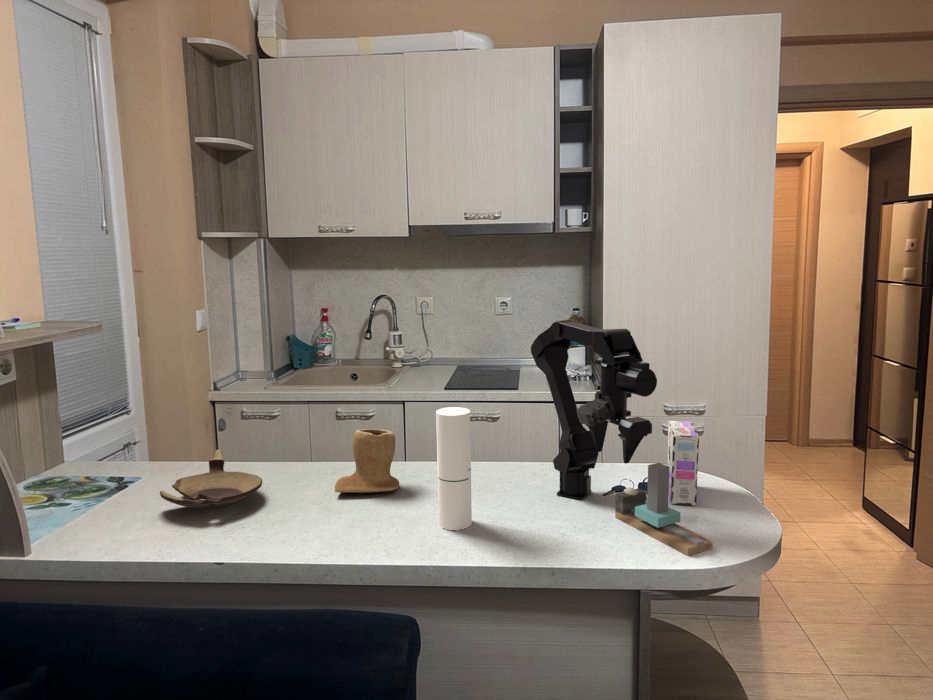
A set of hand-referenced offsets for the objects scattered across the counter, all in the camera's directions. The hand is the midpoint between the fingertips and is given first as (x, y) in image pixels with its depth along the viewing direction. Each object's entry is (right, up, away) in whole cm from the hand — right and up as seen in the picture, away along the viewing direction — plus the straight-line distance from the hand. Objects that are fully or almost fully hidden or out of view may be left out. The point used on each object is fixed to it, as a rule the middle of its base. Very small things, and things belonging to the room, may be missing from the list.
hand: (612, 457), depth 156 cm
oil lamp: (-91, -13, +15) cm, 93 cm away
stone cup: (-56, -11, +20) cm, 60 cm away
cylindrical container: (-34, -14, -2) cm, 37 cm away
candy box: (+19, -11, +13) cm, 25 cm away
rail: (+8, -14, -8) cm, 18 cm away
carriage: (+8, -12, -7) cm, 16 cm away
